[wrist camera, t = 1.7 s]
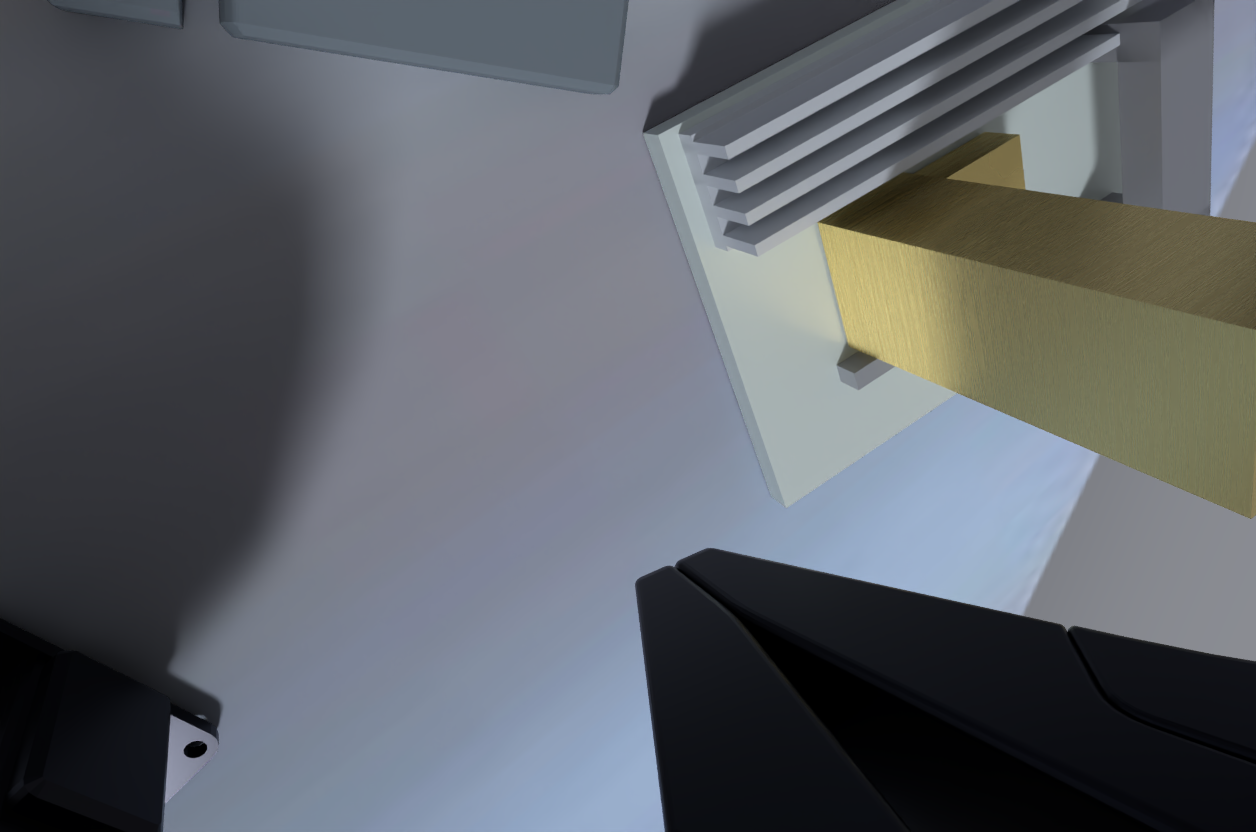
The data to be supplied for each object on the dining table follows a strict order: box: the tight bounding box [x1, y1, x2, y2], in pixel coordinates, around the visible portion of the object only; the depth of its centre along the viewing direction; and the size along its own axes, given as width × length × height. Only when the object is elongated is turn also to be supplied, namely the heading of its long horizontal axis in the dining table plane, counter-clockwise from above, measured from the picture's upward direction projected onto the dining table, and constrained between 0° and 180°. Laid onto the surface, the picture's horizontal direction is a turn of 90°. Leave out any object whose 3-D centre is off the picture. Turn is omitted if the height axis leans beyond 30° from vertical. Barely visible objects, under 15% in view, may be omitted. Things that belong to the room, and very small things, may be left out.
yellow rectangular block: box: [817, 132, 1256, 519], centre depth 19 cm, size 6×4×11 cm, turn 113°
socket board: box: [643, 0, 1214, 508], centre depth 23 cm, size 16×12×4 cm
